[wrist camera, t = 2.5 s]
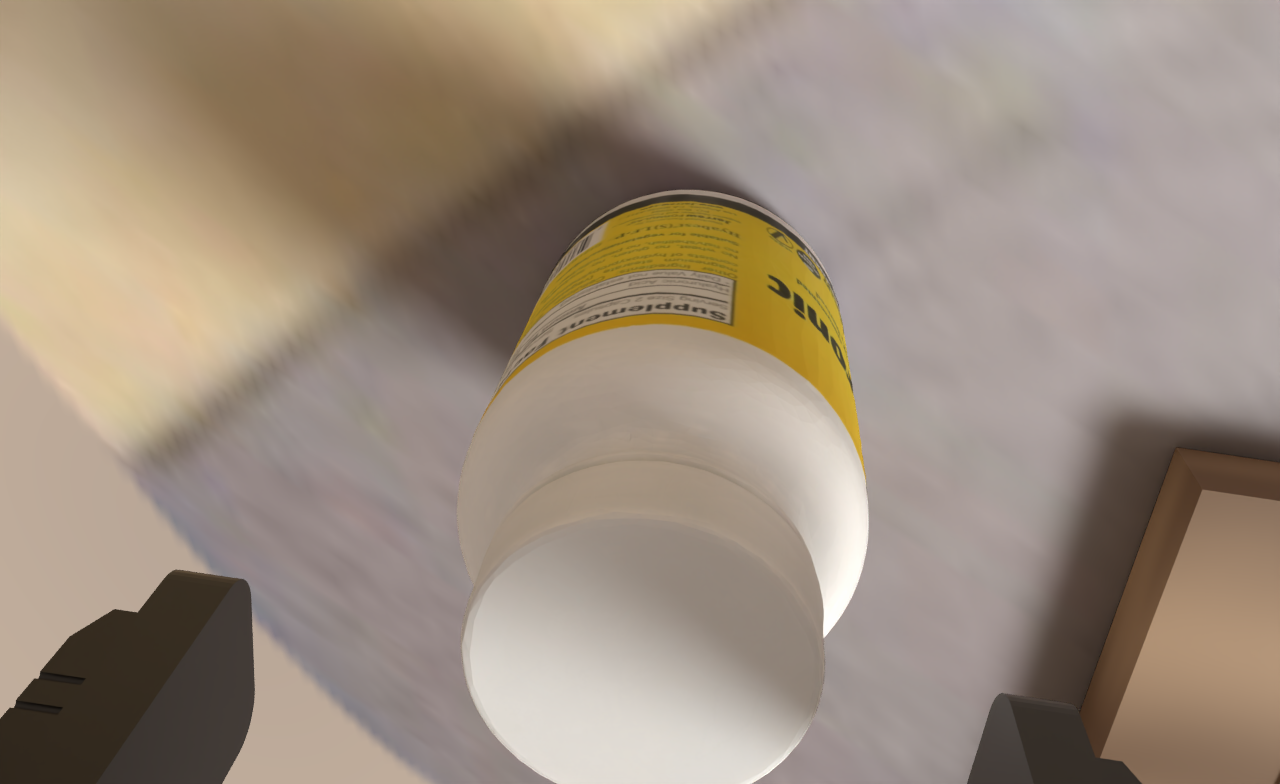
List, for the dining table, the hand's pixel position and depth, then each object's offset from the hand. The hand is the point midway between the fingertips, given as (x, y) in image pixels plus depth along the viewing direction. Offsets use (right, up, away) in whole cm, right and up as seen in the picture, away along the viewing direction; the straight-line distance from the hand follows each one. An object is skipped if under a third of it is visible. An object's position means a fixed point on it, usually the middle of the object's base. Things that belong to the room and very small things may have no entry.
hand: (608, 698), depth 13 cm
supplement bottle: (+1, +5, +9) cm, 10 cm away
